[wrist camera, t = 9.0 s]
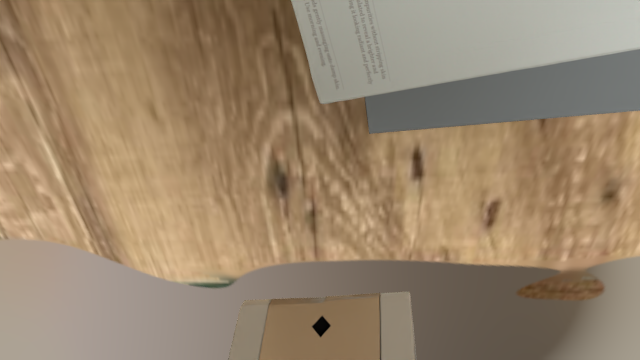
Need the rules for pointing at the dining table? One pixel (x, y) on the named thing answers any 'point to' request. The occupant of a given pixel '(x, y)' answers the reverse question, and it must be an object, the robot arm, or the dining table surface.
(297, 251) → the dining table surface
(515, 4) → the skincare box
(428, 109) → the mat
